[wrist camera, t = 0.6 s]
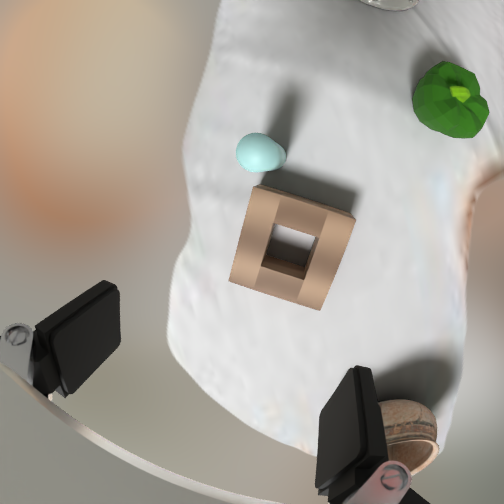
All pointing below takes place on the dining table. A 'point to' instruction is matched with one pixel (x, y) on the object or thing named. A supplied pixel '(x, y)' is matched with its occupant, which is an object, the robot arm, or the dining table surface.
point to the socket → (283, 272)
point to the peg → (259, 153)
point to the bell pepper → (450, 101)
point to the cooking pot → (409, 433)
